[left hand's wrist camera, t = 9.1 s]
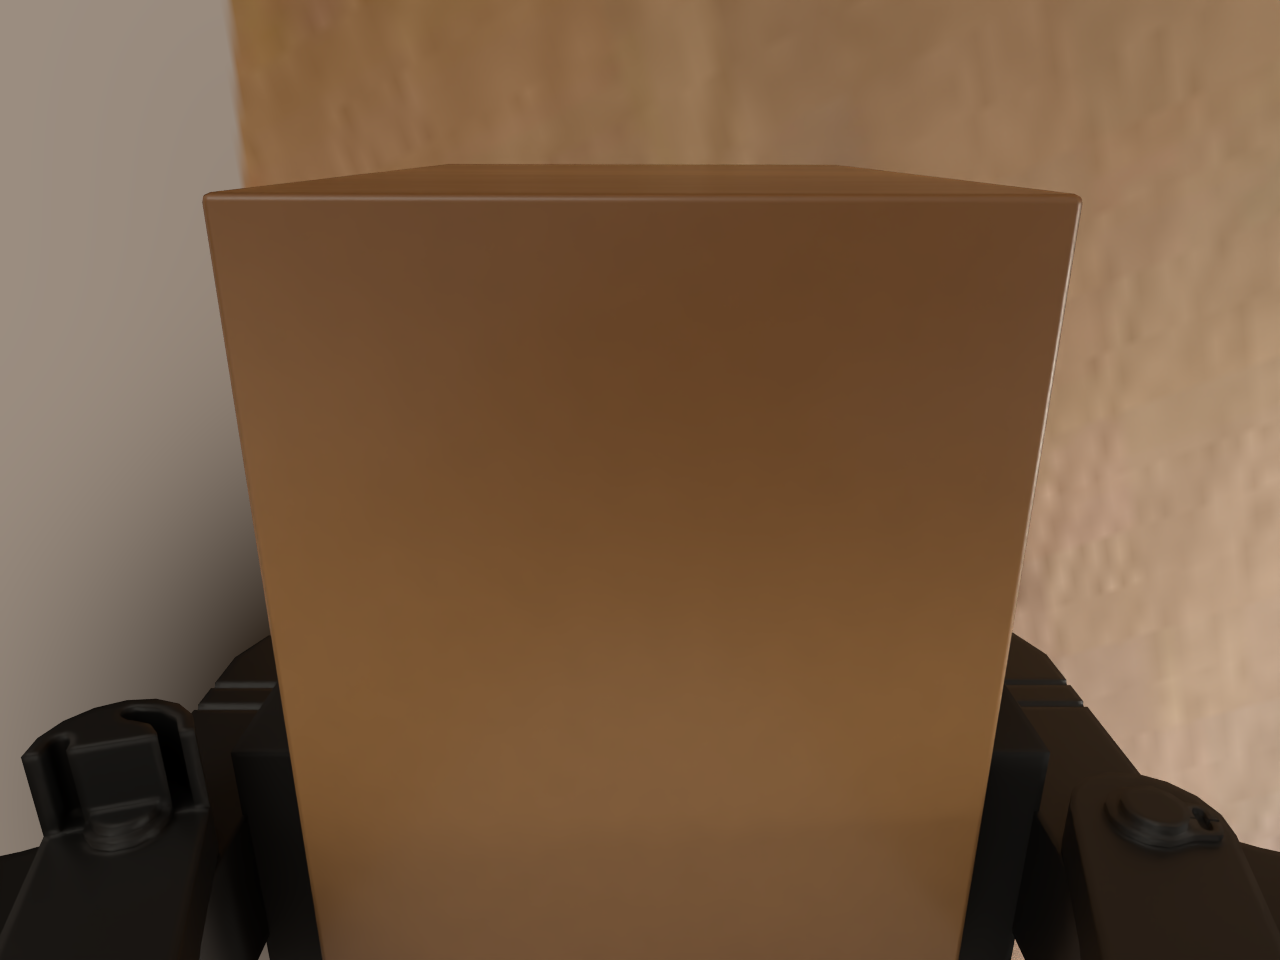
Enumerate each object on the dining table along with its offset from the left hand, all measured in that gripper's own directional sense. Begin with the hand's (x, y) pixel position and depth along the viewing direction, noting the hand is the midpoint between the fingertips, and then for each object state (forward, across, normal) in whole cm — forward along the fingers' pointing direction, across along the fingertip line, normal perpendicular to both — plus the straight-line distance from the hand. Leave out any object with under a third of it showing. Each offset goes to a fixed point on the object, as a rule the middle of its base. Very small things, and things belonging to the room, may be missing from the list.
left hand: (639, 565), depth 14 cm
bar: (+1, 0, -30) cm, 30 cm away
